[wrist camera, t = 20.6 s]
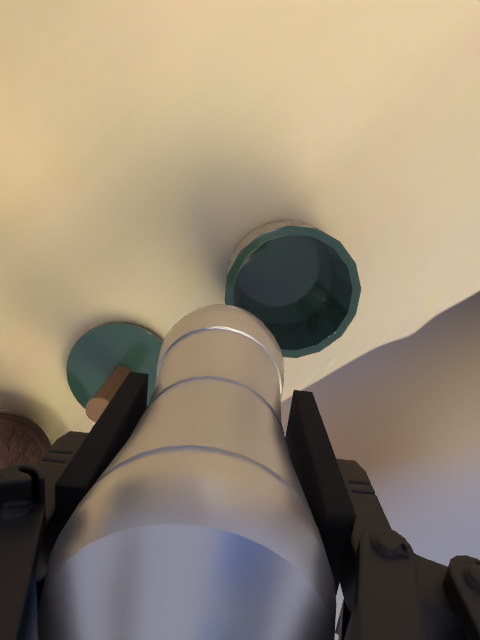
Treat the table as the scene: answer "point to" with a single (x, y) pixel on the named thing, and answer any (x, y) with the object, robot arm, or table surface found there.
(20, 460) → the wooden sphere
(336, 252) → the crock
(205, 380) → the silver metal flask
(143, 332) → the crock lid
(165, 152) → the table surface
